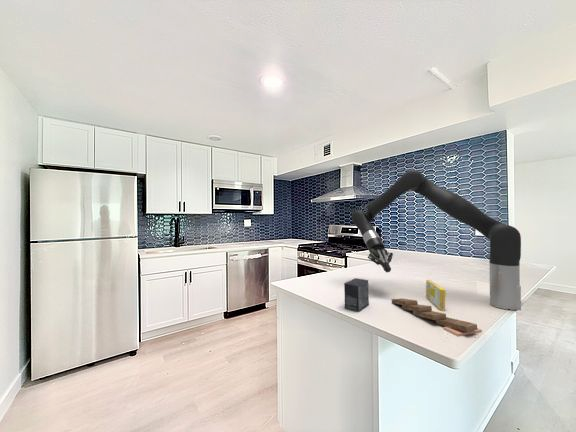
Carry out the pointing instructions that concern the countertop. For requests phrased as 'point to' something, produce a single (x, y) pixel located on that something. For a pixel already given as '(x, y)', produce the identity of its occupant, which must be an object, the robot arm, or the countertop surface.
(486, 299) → the countertop surface
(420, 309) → the domino
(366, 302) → the small box
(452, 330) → the domino
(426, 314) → the domino
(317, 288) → the countertop surface
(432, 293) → the candy box
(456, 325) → the domino
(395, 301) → the domino
